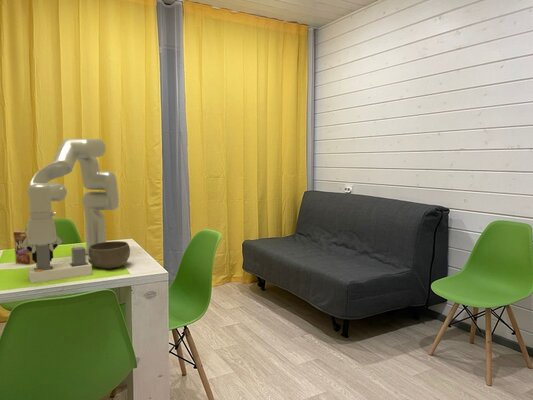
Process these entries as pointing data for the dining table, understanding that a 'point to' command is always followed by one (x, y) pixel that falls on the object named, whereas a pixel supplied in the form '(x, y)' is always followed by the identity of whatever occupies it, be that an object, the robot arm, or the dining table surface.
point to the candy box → (22, 249)
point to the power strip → (63, 268)
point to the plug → (43, 256)
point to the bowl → (109, 254)
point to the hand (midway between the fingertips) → (42, 261)
